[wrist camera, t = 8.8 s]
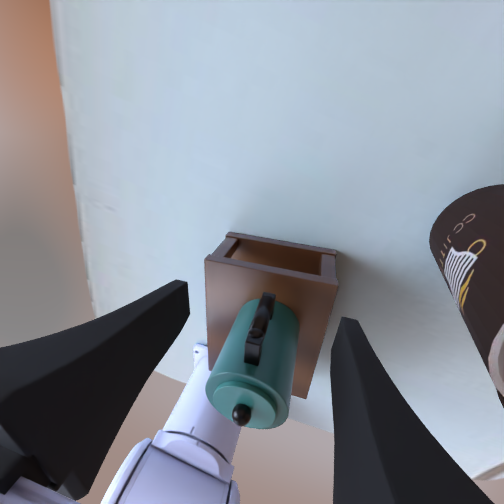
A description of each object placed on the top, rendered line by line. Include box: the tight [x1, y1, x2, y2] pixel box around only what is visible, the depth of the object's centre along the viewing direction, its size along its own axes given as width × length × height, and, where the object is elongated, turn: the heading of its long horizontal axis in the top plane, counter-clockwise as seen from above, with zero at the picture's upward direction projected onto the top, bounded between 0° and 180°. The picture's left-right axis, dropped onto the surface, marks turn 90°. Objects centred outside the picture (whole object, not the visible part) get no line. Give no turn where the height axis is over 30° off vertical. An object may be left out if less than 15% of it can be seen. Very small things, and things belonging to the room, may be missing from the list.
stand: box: [204, 232, 338, 399], centre depth 21 cm, size 12×9×5 cm
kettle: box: [205, 292, 300, 429], centre depth 15 cm, size 9×5×7 cm, turn 176°
